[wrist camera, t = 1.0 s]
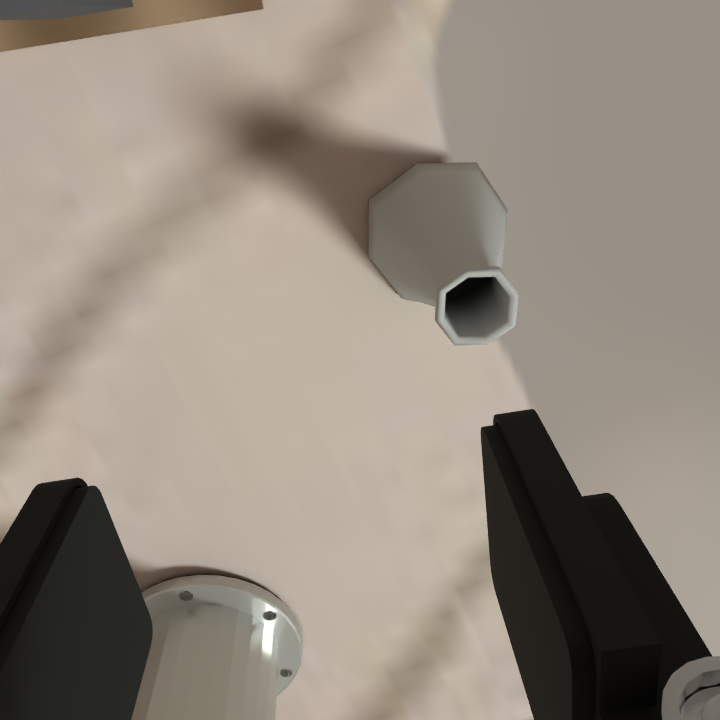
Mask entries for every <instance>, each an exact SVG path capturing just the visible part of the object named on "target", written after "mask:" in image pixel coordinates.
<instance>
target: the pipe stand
mask: <svg viewBox="0 0 720 720" xmlns="http://www.w3.org/2000/svg"><path fill="white" fill-rule="evenodd" d="M132 3H133V7H128V8H122V9H116V10H110V11H104V12H98V13H92V14H86V15H80V16H73V17H67V18H61V19H30V20H0V52H3V51H9V50H15V49H21V48H27V47H34V46H40V45H46V44H52V43H58V42H64V41H70V40H76V39H83V38H89V37H95V36H101V35H107V34H113V33H119V32H125V31H131V30H138V29H144V28H150V27H156V26H162V25H168V24H174V23H180V22H187V21H193V20H199V19H205V18H211V17H217V16H223V15H229V14H236V13H242V12H248V11H254V10H260V9H263V4H262V0H132Z"/></svg>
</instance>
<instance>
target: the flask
mask: <svg viewBox="0 0 720 720" xmlns="http://www.w3.org/2000/svg"><path fill="white" fill-rule="evenodd" d="M507 211H508V210H507V208H506V206H505V205H504V203H503V202H502V200H501V199H500V197H499V196H498V194H497V193H496V191H495V190H494V188H493V187H492V185H491V184H490V182H489V181H488V179H487V178H486V176H485V174H484V173H483V171H482V170H481V169H480V167H479V165H478V164H477V163H417V164H416V165H414V166H413V167H412V168H410V169H409V170H408V171H406V172H405V173H404V174H402V175H401V176H400V177H399V178H397V179H396V180H395V181H393V182H392V183H391V184H389V185H388V186H387V187H385V188H384V189H383V190H381V191H380V192H379V193H378V194H376V195H375V196H374V197H372V198H371V199H370V200H369V258H370V259H371V260H372V262H373V263H374V264H375V265H376V267H377V268H378V269H379V270H380V272H381V273H382V274H383V276H384V277H385V278H386V279H387V281H388V282H389V283H390V284H391V286H392V287H393V288H394V289H395V291H396V292H397V293H398V295H399V296H400V297H401V298H402V299H406V300H411V301H416V302H422V303H425V304H428V305H431V306H435V307H436V308H435V321H436V322H437V324H438V325H439V326H440V327H441V329H442V330H443V331H444V333H445V334H446V335H447V336H448V338H449V339H450V340H451V342H452V343H453V344H454V345H488V344H489V343H491V342H492V341H494V340H495V339H497V338H498V337H500V336H501V335H502V334H504V333H505V332H507V331H509V330H510V329H512V328H513V327H515V324H516V315H517V305H518V296H519V295H518V293H517V291H516V290H515V288H514V287H513V285H512V284H511V283H510V281H509V280H508V278H507V277H506V275H505V274H504V272H503V271H502V270H501V267H502V262H503V252H504V242H505V232H506V221H507Z"/></svg>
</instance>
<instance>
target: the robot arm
mask: <svg viewBox="0 0 720 720" xmlns="http://www.w3.org/2000/svg"><path fill="white" fill-rule="evenodd" d="M481 444H482V457H483V471H484V484H485V498H486V511H487V525H488V538H489V552H490V565H491V573H492V579H493V584H494V588H495V592H496V595H497V599H498V602H499V605H500V609H501V612H502V615H503V618H504V622H505V625H506V628H507V632H508V635H509V638H510V642H511V645H512V648H513V651H514V655H515V658H516V661H517V665H518V668H519V671H520V674H521V678H522V681H523V684H524V688H525V691H526V694H527V697H528V701H529V704H530V707H531V711H532V714H533V717H534V720H720V657H713V656H712V655H711V653H710V652H709V650H708V648H707V647H706V645H705V643H704V642H703V641H702V638H701V637H700V635H699V634H698V632H697V630H696V629H695V627H694V626H693V624H692V622H691V620H690V619H689V617H688V615H687V614H686V612H685V611H684V609H683V607H682V606H681V604H680V602H679V601H678V599H677V597H676V596H675V594H674V593H673V591H672V589H671V588H670V586H669V584H668V583H667V581H666V579H665V578H664V576H663V574H662V573H661V571H660V570H659V568H658V566H657V565H656V563H655V561H654V560H653V558H652V556H651V555H650V553H649V552H648V550H647V548H646V547H645V545H644V543H643V542H642V540H641V538H640V537H639V535H638V534H637V532H636V530H635V529H634V527H633V525H632V524H631V522H630V520H629V519H628V517H627V515H626V514H625V512H624V511H623V509H622V507H621V506H620V504H619V503H618V501H617V500H616V499H615V497H614V496H613V495H611V494H609V493H603V494H597V495H589V496H583V497H582V496H581V494H580V492H579V490H578V489H577V486H576V484H575V483H574V481H573V479H572V477H571V475H570V473H569V472H568V470H567V468H566V466H565V464H564V462H563V460H562V459H561V457H560V455H559V453H558V451H557V450H556V448H555V446H554V444H553V442H552V440H551V438H550V436H549V435H548V433H547V431H546V429H545V427H544V426H543V424H542V422H541V420H540V418H539V416H538V414H537V413H536V411H535V410H533V409H530V410H523V411H517V412H510V413H503V414H497V415H494V419H493V425H492V426H486V427H482V428H481ZM301 660H302V634H301V630H300V626H299V624H298V622H297V620H296V618H295V616H294V615H293V613H292V612H291V611H290V609H289V608H288V607H287V606H286V605H285V604H284V603H283V602H282V601H281V600H280V599H278V598H277V597H276V596H274V595H273V594H272V593H270V592H268V591H266V590H264V589H263V588H261V587H259V586H257V585H255V584H252V583H249V582H246V581H243V580H239V579H236V578H230V577H224V576H218V575H194V576H185V577H179V578H175V579H171V580H167V581H164V582H161V583H159V584H157V585H154V586H152V587H150V588H148V589H146V590H145V591H143V592H142V593H141V591H140V589H139V586H138V584H137V581H136V579H135V576H134V574H133V571H132V569H131V566H130V564H129V561H128V559H127V556H126V554H125V551H124V549H123V546H122V544H121V541H120V539H119V536H118V534H117V531H116V529H115V526H114V524H113V521H112V519H111V516H110V514H109V511H108V509H107V506H106V504H105V502H104V499H103V497H102V494H101V492H100V490H99V489H98V488H97V487H96V486H87V484H86V482H85V481H84V480H83V479H80V478H73V479H66V480H60V481H53V482H47V483H41V484H38V485H37V486H36V487H35V488H34V489H33V490H32V492H31V494H30V495H29V497H28V499H27V500H26V502H25V504H24V505H23V507H22V509H21V510H20V512H19V514H18V516H17V517H16V519H15V521H14V522H13V524H12V526H11V527H10V529H9V531H8V532H7V534H6V536H5V537H4V539H3V541H2V542H1V544H0V720H275V717H276V701H277V696H278V695H279V694H280V693H282V692H283V691H284V690H285V689H286V688H287V687H288V686H289V685H290V683H291V682H292V681H293V680H294V678H295V677H296V675H297V672H298V670H299V668H300V666H301Z"/></svg>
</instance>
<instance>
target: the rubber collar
mask: <svg viewBox="0 0 720 720" xmlns="http://www.w3.org/2000/svg"><path fill="white" fill-rule="evenodd" d="M128 7H133V3H132V0H0V20H30V19H61V18H67V17H73V16H80V15H86V14H92V13H98V12H104V11H110V10H116V9H122V8H128Z"/></svg>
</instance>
